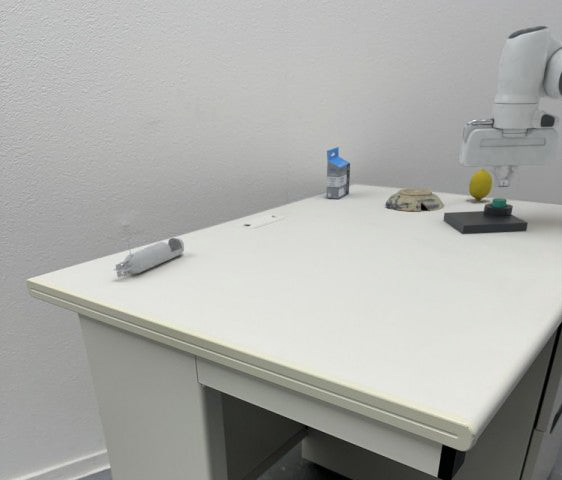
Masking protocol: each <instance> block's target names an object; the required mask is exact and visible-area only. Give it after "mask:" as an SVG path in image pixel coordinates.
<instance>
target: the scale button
mask: <svg viewBox="0 0 562 480" xmlns="http://www.w3.org/2000/svg"><path fill="white" fill-rule="evenodd" d="M507 202H508V200H507V199H506V198H500V197H497V198H492V202H491V203H492V207H497V208H505V207H506V204H507Z"/></svg>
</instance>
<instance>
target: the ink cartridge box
mask: <svg viewBox="0 0 562 480" xmlns="http://www.w3.org/2000/svg"><path fill="white" fill-rule="evenodd" d="M339 150H340V149H339V146H336V147H334V148H331V149H328V150H326V159H327V160H326V161H327V165H326V196H325V198H326V199H333V200H339V199H342V198H343V197H344V196H346V195H348V194H350V179H351V177H350V176H351V175H350V174H351V162H349V161H348V160H346V159H343V158H342V157H341V156H340V155H339ZM333 154H334V155H333Z"/></svg>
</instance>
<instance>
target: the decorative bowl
mask: <svg viewBox="0 0 562 480" xmlns="http://www.w3.org/2000/svg"><path fill="white" fill-rule="evenodd" d="M422 205H423V206H424V207H425V208H426V209H427V210H428V211H429V212H432V211H433V212H434V211H439V210H442V209H443V208H444V203H443V201H442V199H441V198H440V197H439V196H438V195H436V194H435V193H433V192H432V191H431V190H430V189H427V188H417V187H415V188H412V187H411V188H401V189H399V190H398V191H397V192H396V193H393V194H392V195H391V196H390V197H388V199H387V200H386V201H385V208H387V209H390V210H393V209H394V210H395V211H404V212H412V211H413V212H417V213H418V212H419V213H420V212H421V211H422Z"/></svg>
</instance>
